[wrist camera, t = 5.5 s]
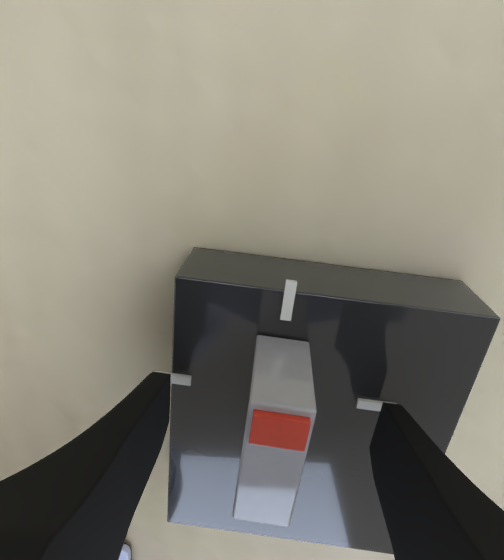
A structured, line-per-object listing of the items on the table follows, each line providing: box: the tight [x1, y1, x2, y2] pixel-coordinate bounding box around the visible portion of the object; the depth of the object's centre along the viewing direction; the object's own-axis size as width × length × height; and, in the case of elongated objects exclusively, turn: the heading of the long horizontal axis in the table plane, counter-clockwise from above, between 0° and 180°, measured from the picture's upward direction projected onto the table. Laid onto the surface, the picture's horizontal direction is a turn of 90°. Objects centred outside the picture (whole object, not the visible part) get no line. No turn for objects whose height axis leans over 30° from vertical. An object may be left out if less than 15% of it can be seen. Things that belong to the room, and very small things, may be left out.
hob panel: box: [153, 247, 500, 554], centre depth 16 cm, size 11×12×3 cm
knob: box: [232, 335, 317, 527], centre depth 13 cm, size 5×2×4 cm, turn 173°
